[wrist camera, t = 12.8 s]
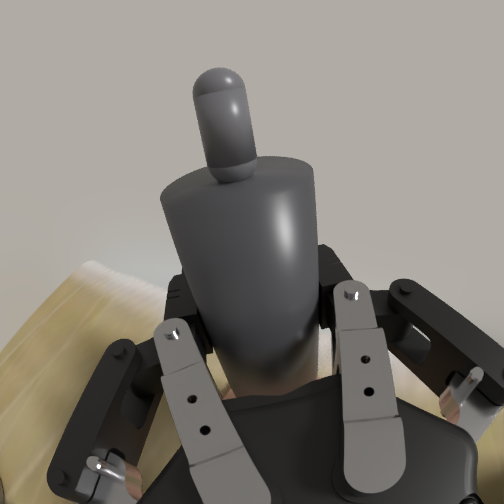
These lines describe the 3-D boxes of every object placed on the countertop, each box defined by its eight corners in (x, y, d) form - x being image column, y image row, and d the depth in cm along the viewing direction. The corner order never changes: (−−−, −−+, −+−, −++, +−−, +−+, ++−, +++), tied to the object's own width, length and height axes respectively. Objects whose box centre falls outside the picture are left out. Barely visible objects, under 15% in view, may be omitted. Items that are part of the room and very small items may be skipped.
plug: (294, 444, 12) (234, 44, 3) (227, 413, 14) (101, 100, 6) (327, 383, 15) (322, 58, 6) (265, 361, 17) (205, 78, 9)
